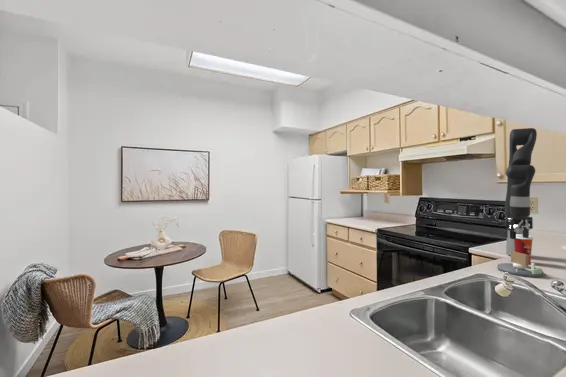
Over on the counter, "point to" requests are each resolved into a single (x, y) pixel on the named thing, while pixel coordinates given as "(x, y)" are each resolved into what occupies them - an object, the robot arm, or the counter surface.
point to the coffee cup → (523, 245)
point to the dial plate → (520, 270)
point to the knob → (521, 261)
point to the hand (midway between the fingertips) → (519, 238)
